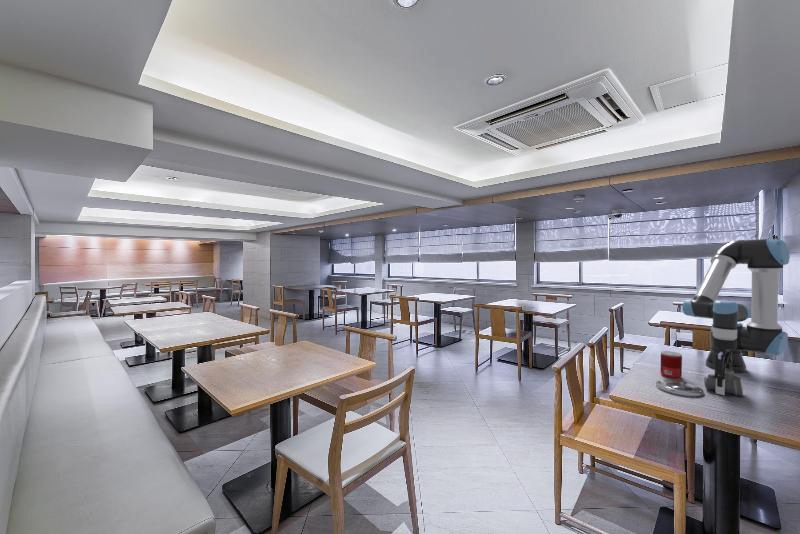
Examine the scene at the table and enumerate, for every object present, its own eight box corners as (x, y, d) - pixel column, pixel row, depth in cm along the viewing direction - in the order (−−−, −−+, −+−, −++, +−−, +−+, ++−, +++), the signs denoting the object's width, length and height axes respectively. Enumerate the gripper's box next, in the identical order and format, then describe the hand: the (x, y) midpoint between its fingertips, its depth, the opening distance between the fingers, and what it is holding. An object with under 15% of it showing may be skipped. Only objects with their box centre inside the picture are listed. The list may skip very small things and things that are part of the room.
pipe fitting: (744, 392, 146) (741, 368, 146) (744, 399, 140) (741, 374, 140) (706, 388, 154) (703, 365, 154) (705, 394, 148) (701, 371, 148)
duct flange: (663, 380, 162) (663, 376, 162) (708, 390, 149) (708, 387, 149) (649, 388, 152) (649, 384, 152) (696, 400, 139) (696, 396, 139)
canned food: (685, 379, 162) (685, 356, 162) (665, 378, 164) (666, 355, 164) (675, 373, 170) (676, 351, 169) (657, 372, 171) (657, 350, 171)
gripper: (719, 333, 155) (718, 383, 156) (705, 340, 143) (703, 394, 144) (743, 336, 149) (741, 388, 150) (729, 343, 137) (728, 400, 138)
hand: (723, 391), depth 147 cm, fingers open, 8 cm apart
